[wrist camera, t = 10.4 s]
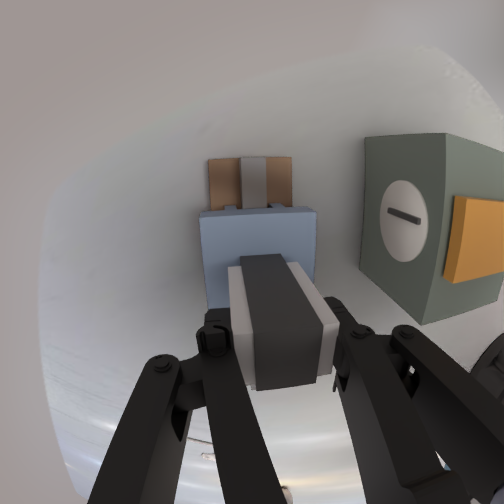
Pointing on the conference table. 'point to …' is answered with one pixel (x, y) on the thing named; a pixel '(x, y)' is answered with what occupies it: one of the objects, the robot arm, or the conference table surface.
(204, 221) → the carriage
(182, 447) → the robot arm
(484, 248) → the orange slab
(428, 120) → the conference table surface
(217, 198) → the rail
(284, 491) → the plastic bottle
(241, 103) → the conference table surface
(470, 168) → the gauge cabinet
